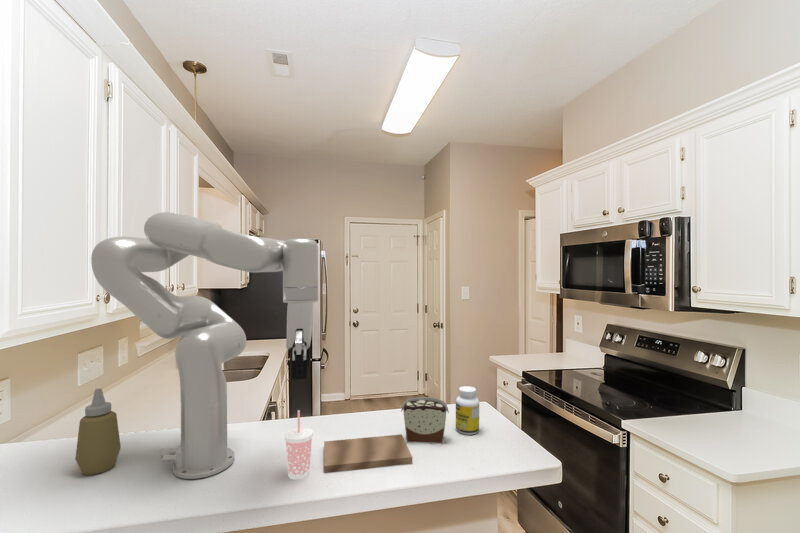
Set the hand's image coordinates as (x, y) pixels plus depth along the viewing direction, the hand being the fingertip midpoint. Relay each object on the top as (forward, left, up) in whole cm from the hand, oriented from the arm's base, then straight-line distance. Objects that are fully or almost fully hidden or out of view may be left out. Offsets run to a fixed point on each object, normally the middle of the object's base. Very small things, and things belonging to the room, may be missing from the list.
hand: (300, 372), depth 84 cm
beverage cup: (0, 0, -22) cm, 23 cm away
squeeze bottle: (-45, +11, -22) cm, 52 cm away
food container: (+31, +11, -22) cm, 40 cm away
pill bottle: (+44, +13, -22) cm, 51 cm away
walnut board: (+15, +5, -22) cm, 27 cm away
